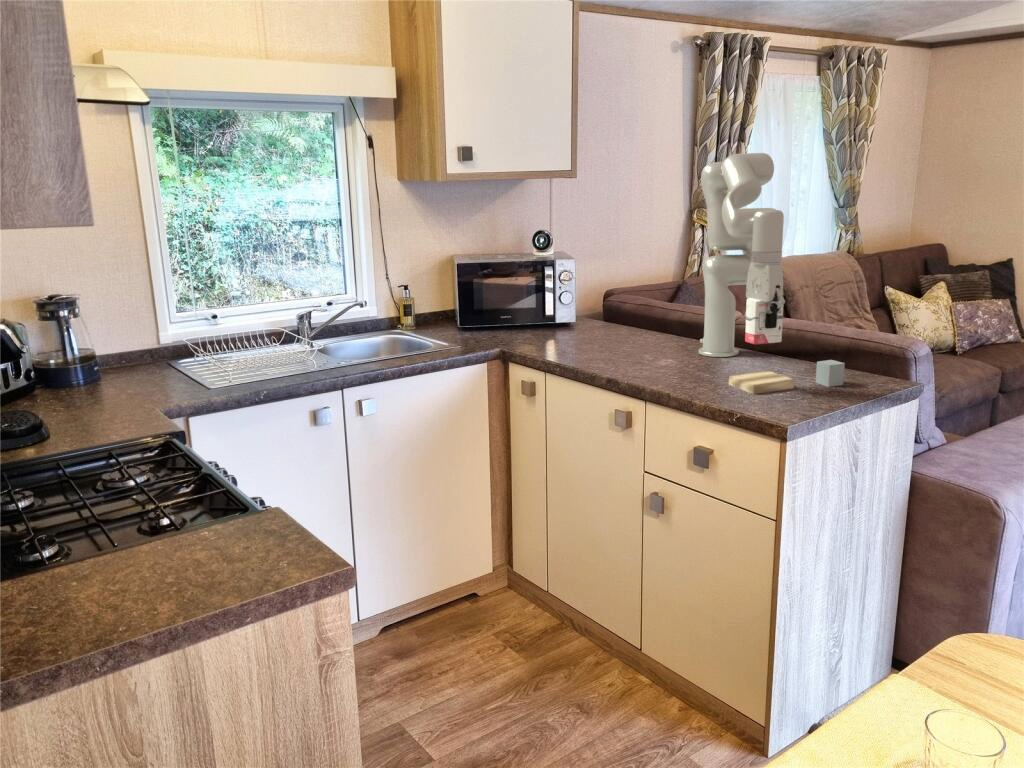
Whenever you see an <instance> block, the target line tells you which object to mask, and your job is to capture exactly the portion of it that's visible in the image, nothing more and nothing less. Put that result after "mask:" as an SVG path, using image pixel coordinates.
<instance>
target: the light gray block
mask: <svg viewBox="0 0 1024 768" xmlns="http://www.w3.org/2000/svg"><path fill="white" fill-rule="evenodd" d="M815 369H816V371H815V384H818V385H821V386H825V387H828V388H830V387H836V386H843V385H844V382H845V381H844V379H845V362H843V361H842V362H841V361H838V360H835V359H834V360H833V359H828V360H827V359H826V360H820V361H816V368H815Z"/></svg>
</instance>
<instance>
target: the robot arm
mask: <svg viewBox="0 0 1024 768" xmlns="http://www.w3.org/2000/svg"><path fill="white" fill-rule="evenodd" d="M774 172H775V164H774V160H773V158H772V157H771V156H770V155H769V154H768V153H765V152H751V153H750V152H749V153H748V152H747V153H734V154H730V155H729V156H727V157H726V158H725V159H724V160H723V161H717V162H716V161H714V162H711V163H707V164H706V165H705V166H704V167H703V169H702V171H701V175H700V176H701V177H700V178H701V179H700V183H701V190H702V193H703V196H704V201H705V203H706V211H707V212H706V216H707V218H706V219H707V220H706V221H707V222H706V225H707V226H706V229H707V234H706V235H707V244H708V247H709V249H711V250H712V251H721V252H722V251H741V252H742V254H717V255H712V256H709V257H707V258H705V260H704V262H703V264H702V275H703V276H702V277H703V284H704V324H703V326H704V328H703V337H702V338H700V339H699V343H700V344H702V347H699V349H698V354H700V355H702V356H706V357H712V358H728V357H735V356H737V355H739V353H740V350H739V349H738V348H736V347H735V330H736V329H735V328H736V303H737V302H736V297H735V295H734V294H733V292H732V291H731V290H730V289H729V286H741V285H746V287H745V288H746V289H745V298H746V300H747V299H748V298H752V299H756V300H759V301H761V302H763V303H766V305H767V312H768V313H766V320H765V328H767V329H769V328H776V326H777V313H778V312H779V309H780V308H781V307H782V306H783V307H784V305H785V304H786V300H785V298H784V296H783V295H784V270H783V264H782V259H783V240H784V222H785V221H784V219H785V218H784V217H785V216H784V212H783V211H782V210H779V209H775V208H772V207H760V208H759V207H756V208H755V207H753V208H747V207H746V206H748V205H751V204H753V203H754V202H756V200H757V199H759V198H760V196H761V193H762V187H763V186H764V185H766V184H768V183H769V182H770V181H772V179H773V177H774ZM727 191H728V192H727ZM744 207H746V208H744ZM772 300H774V301H772ZM771 304H773V306H772V307H771Z"/></svg>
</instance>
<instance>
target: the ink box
mask: <svg viewBox="0 0 1024 768" xmlns="http://www.w3.org/2000/svg"><path fill="white" fill-rule="evenodd" d="M772 301H774V300H772ZM745 306H746V308H745V309H746V310H745V312H746V313H745V333H744V341H745V342H746V343H749V344H752V345H763V344H764V345H766V344H775V343H781V342H782V339H783V338H782V337H783V318H784V305H783V306H782V307H781V308H780V309H779V312H778V313H777V326H776V328H769V329H767V328H765V320H766V313H768V312H767V305H766V303H763V302H761V301H759V300H756V299H752V298H748V299H747V298H746V305H745ZM772 306H773V304H771V307H772Z"/></svg>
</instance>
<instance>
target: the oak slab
mask: <svg viewBox="0 0 1024 768" xmlns="http://www.w3.org/2000/svg"><path fill="white" fill-rule="evenodd" d="M728 385H729V386H730V385H731V386H730V387H733V386H734V387H733V388H736V389H739V390H741V391H743V392H747V393H750V394H751V395H756V394H757V395H758V394H764V393H771V392H772V393H773V392H779V391H785V390H793V389H795V379H794V378H791V377H788V376H785V375H782V374H780V373H776V372H773V371H770V370H763V371H755V372H750V373H741V374H733V375H729V376H728Z"/></svg>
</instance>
